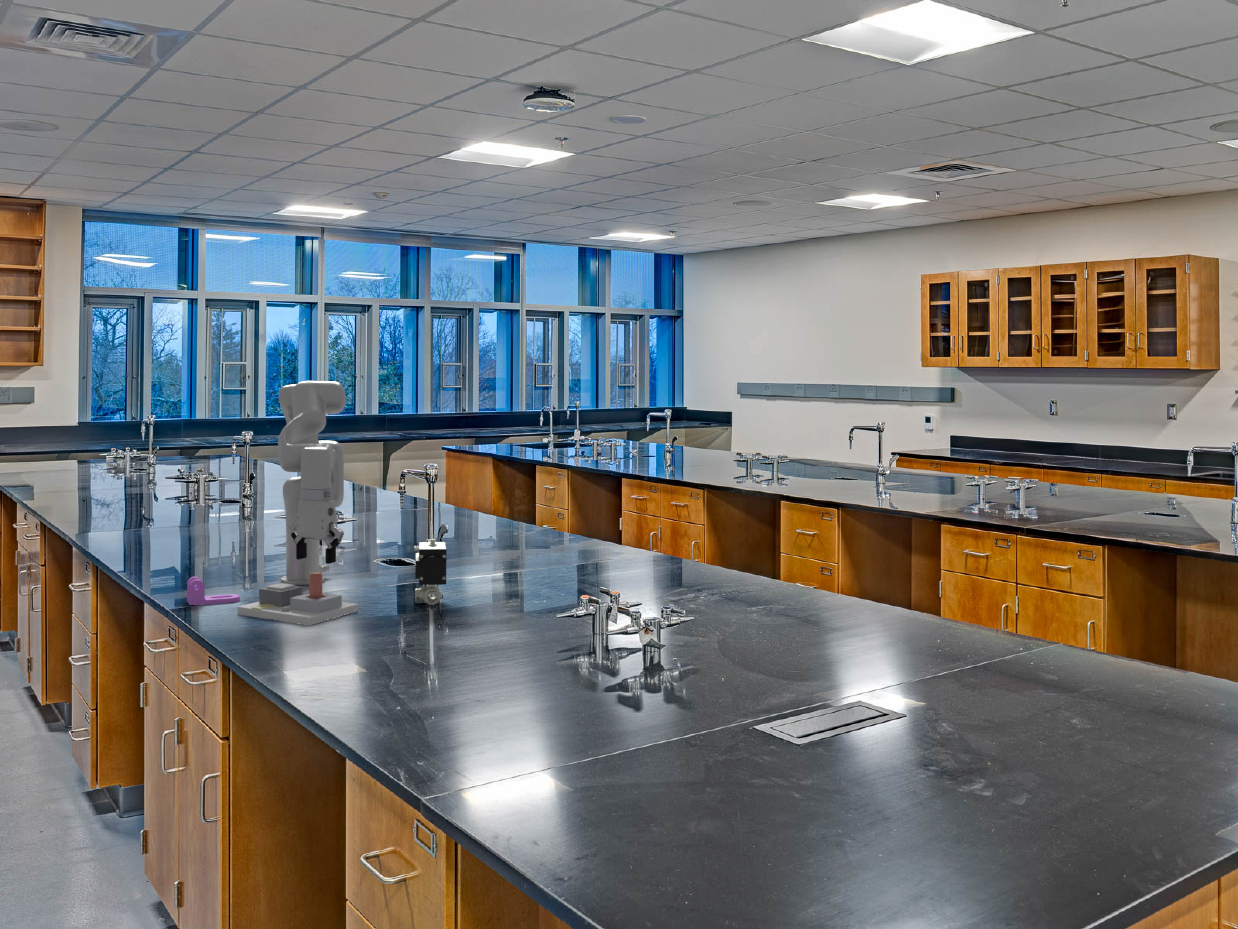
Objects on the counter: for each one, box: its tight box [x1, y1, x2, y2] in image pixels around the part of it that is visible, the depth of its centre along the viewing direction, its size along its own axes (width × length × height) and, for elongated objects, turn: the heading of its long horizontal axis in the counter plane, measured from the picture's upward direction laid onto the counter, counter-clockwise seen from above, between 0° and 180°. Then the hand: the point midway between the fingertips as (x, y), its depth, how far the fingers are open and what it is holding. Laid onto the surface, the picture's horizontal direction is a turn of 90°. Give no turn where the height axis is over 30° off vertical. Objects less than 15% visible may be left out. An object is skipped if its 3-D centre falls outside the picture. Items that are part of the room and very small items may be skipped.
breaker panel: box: [237, 585, 359, 626], centre depth 264 cm, size 18×24×6 cm
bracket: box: [186, 576, 241, 606], centre depth 275 cm, size 13×6×7 cm, turn 119°
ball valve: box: [413, 538, 447, 606], centre depth 279 cm, size 18×8×18 cm, turn 11°
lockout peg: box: [308, 572, 323, 599], centre depth 261 cm, size 3×3×9 cm
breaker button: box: [266, 582, 296, 591], centre depth 266 cm, size 5×5×4 cm
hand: (316, 560), depth 261 cm, fingers open, 9 cm apart
